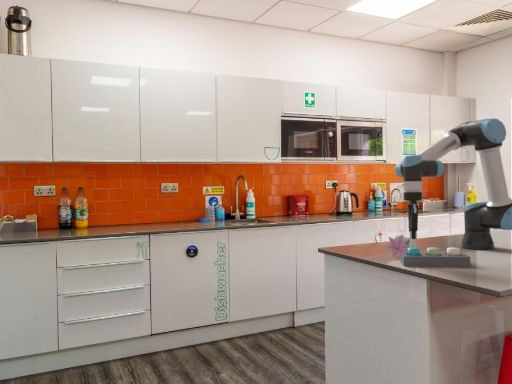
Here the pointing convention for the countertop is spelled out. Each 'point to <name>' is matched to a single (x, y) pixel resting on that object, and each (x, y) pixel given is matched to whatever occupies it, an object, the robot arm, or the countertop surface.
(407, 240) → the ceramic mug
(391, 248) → the lily
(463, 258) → the console
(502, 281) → the countertop surface
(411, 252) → the teal button
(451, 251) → the cream button
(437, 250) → the sage button
